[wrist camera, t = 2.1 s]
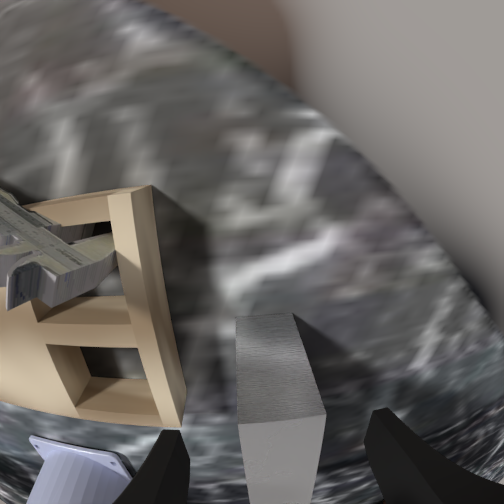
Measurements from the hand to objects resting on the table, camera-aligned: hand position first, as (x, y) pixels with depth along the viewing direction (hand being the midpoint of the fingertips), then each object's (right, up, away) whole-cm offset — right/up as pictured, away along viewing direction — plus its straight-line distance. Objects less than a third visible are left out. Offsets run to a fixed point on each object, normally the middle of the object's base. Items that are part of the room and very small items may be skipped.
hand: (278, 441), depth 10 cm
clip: (0, +1, +4) cm, 4 cm away
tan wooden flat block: (-11, +4, +3) cm, 12 cm away
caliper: (-15, +11, 0) cm, 19 cm away
